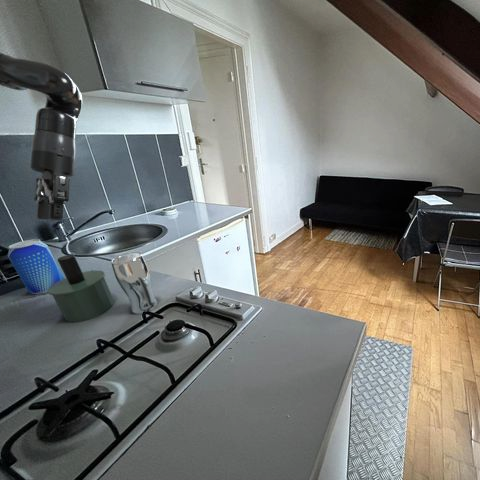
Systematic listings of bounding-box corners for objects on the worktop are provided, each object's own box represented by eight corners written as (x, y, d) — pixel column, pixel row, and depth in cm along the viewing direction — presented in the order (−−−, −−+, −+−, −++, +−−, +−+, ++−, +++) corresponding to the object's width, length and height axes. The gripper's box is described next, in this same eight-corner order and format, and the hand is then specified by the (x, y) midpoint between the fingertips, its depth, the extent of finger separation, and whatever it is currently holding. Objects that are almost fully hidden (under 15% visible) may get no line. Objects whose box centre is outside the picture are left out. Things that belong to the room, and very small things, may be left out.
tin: (66, 328, 65) (50, 299, 61) (65, 310, 72) (51, 283, 69) (116, 308, 71) (104, 282, 68) (111, 293, 78) (101, 269, 75)
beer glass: (127, 318, 67) (105, 267, 61) (133, 303, 73) (113, 255, 67) (158, 310, 69) (139, 260, 63) (161, 296, 75) (144, 249, 69)
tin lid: (48, 303, 61) (31, 273, 58) (50, 285, 69) (35, 258, 66) (108, 283, 68) (96, 256, 65) (103, 269, 76) (92, 244, 73)
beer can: (66, 279, 88) (44, 235, 82) (67, 288, 83) (43, 242, 76) (31, 290, 83) (5, 244, 77) (30, 300, 77) (1, 251, 71)
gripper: (23, 152, 65) (17, 217, 64) (42, 145, 58) (36, 218, 57) (63, 161, 71) (59, 220, 71) (85, 156, 64) (80, 221, 64)
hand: (49, 219), depth 64 cm, fingers open, 8 cm apart
